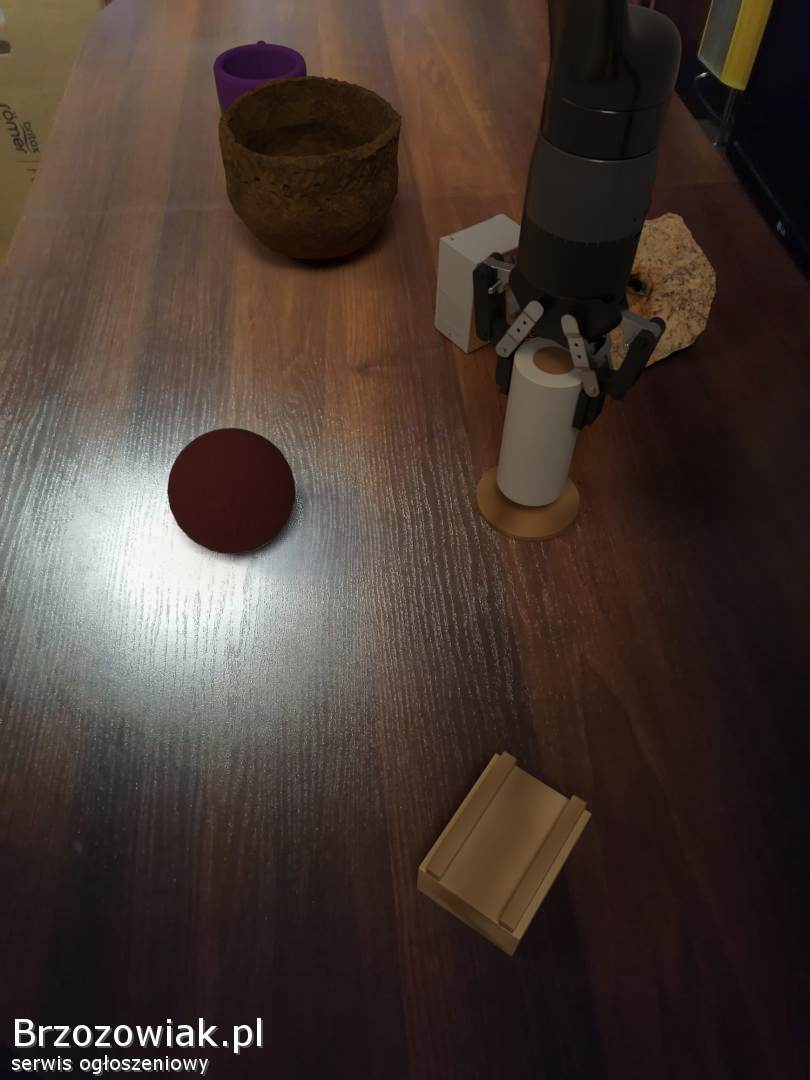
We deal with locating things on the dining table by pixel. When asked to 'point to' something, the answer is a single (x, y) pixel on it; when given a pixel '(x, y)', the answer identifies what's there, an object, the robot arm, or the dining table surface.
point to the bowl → (311, 164)
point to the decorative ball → (231, 490)
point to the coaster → (525, 511)
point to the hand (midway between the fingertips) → (545, 405)
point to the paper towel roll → (539, 423)
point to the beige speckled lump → (668, 286)
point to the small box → (471, 277)
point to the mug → (253, 69)
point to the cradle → (502, 852)
